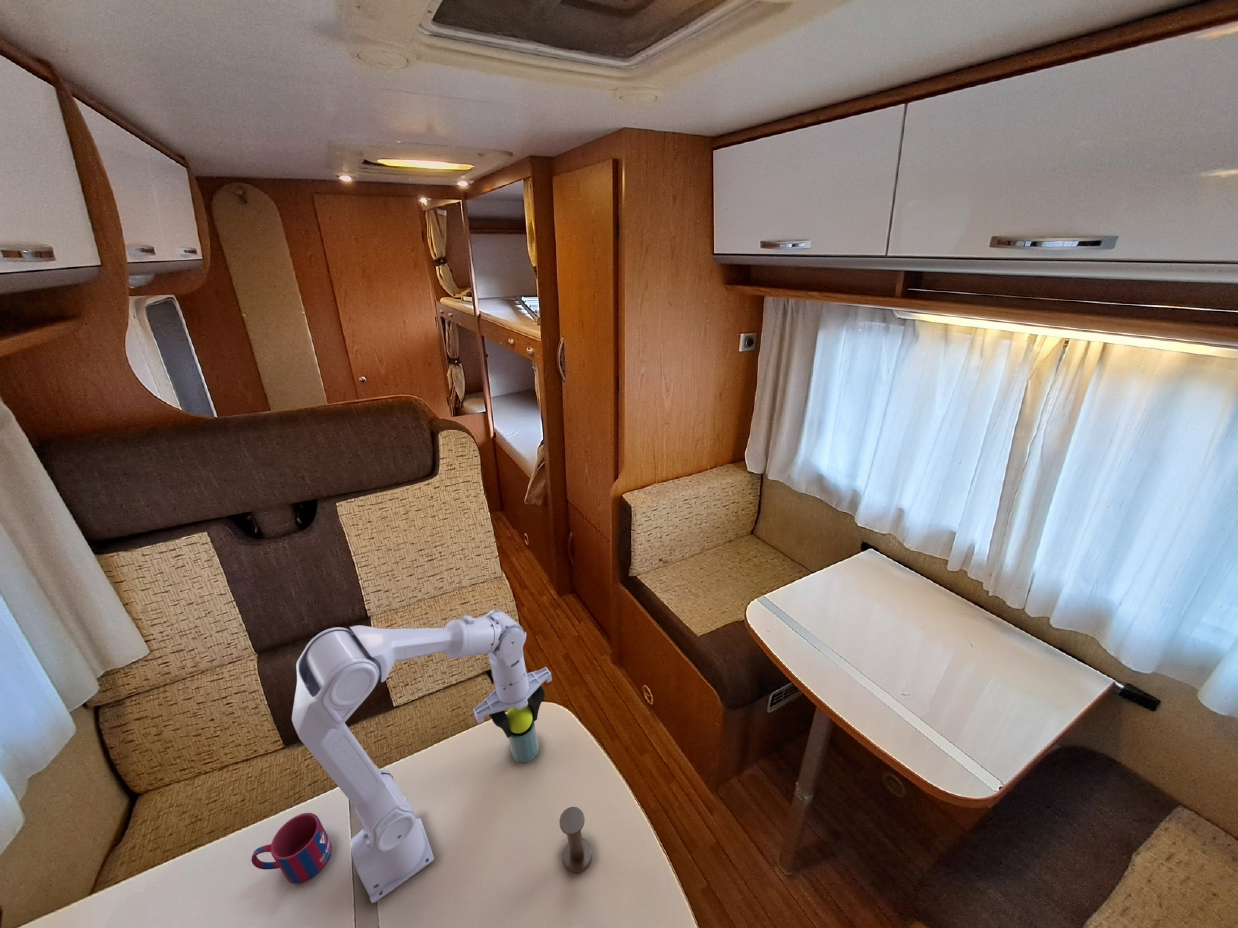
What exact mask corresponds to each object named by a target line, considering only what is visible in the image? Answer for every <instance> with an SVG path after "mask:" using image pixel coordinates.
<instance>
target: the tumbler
mask: <svg viewBox="0 0 1238 928" xmlns="http://www.w3.org/2000/svg"><path fill="white" fill-rule="evenodd" d="M535 722H536V721H533V719H532V723H531V725H530V727H529V728H528V729H527V730H526V731H524V732H522V733H513V732H511V731H510V732H511V736H510V737H509V738H507V740H508V743H509V747H510V752H511V755H512V759H514V761H516V762H517V763H521V764H525V763H528V762H531V761H532V760H534V759H535V758H536V756H537V755H538V753H539V750H540V744H539V739H538V734H537V727H536V723H535Z"/></svg>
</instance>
